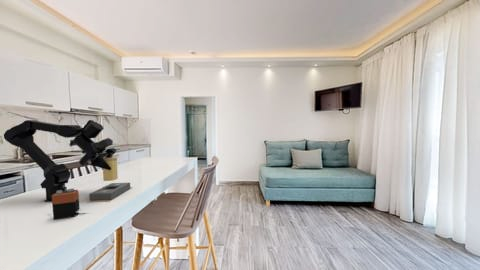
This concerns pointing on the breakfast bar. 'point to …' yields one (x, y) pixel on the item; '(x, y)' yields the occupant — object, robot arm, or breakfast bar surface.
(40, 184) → the robot arm
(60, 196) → the battery
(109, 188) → the panel
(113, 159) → the plug
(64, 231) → the breakfast bar surface
